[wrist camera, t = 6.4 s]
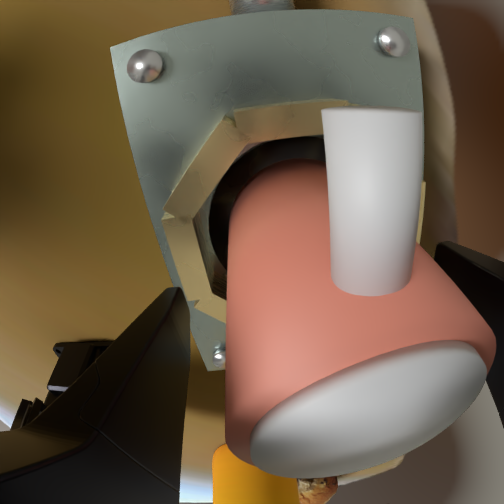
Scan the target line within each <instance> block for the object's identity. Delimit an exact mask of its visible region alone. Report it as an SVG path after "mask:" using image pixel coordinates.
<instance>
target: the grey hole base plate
mask: <svg viewBox="0 0 504 504" xmlns="http://www.w3.org/2000/svg"><path fill="white" fill-rule="evenodd" d="M229 4H230V9H231V14H232V16H226V17H220V18H214V19H209V20H204V21H199V22H194V23H189V24H185V25H181V26H177V27H173V28H169V29H165V30H162V31H158V32H155V33H151V34H148V35H145V36H142V37H138V38H135V39H132V40H129V41H127V42H124V43H121V44H118V45H115V46H113V47H110V50H111V56H112V62H113V68H114V73H115V78H116V84H117V89H118V94H119V98H120V103H121V108H122V112H123V117H124V121H125V125H126V130H127V134H128V138H129V142H130V146H131V150H132V154H133V158H134V162H135V165H136V169H137V173H138V176H139V180H140V184H141V187H142V191H143V194H144V197H145V201H146V204H147V208H148V211H149V214H150V217H151V221H152V224H153V227H154V230H155V233H156V236H157V239H158V242H159V245H160V248H161V251H162V254H163V257H164V260H165V263H166V266H167V269H168V272H169V274H170V277H171V280H172V283H173V285H174V287H178V286H179V287H181V288H182V290H183V293H184V296H185V298H186V301H187V304H188V307H189V310H190V330H191V332H192V335H193V337H194V340H195V342H196V344H197V347H198V349H199V352H200V354H201V356H202V359H203V361H204V363H205V366H206V368H207V370H208V371H215V370H225V357H226V304H227V267H228V238H229V218H230V212H231V209H232V205H233V202H234V200H235V198H236V196H237V194H238V193H239V191H240V190H241V188H242V187H243V186H244V184H245V183H246V182H247V181H248V180H249V179H250V178H251V177H252V176H253V175H255V174H256V173H257V172H259V171H260V170H262V169H263V168H265V167H267V166H269V165H271V164H273V163H276V162H279V161H282V160H287V159H293V158H308V159H315V160H319V161H322V162H325V163H326V154H325V143H324V132H323V122H322V113H321V110H322V109H326V108H331V107H341V106H390V107H401V108H408V109H414V110H418V111H421V112H422V126H423V158H422V184H421V199H420V211H419V221H418V230H417V238H416V242H417V243H418V244H419V245H420V238H421V230H422V221H423V211H424V200H425V187H426V182H425V181H423V172H424V111H423V93H422V80H421V70H420V61H419V53H418V46H417V39H416V33H415V27H414V22H413V18H409V17H403V16H397V15H390V14H382V13H374V12H364V11H350V10H327V9H304V10H296V9H295V4H294V0H229Z"/></svg>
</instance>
